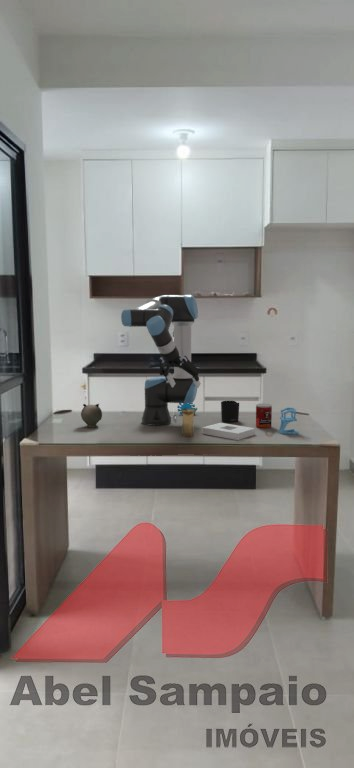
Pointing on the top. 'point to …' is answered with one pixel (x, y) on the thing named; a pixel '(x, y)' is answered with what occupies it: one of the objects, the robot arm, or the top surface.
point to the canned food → (263, 415)
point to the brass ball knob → (188, 422)
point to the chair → (287, 421)
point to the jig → (229, 431)
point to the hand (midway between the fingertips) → (186, 385)
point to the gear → (186, 407)
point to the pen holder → (229, 411)
